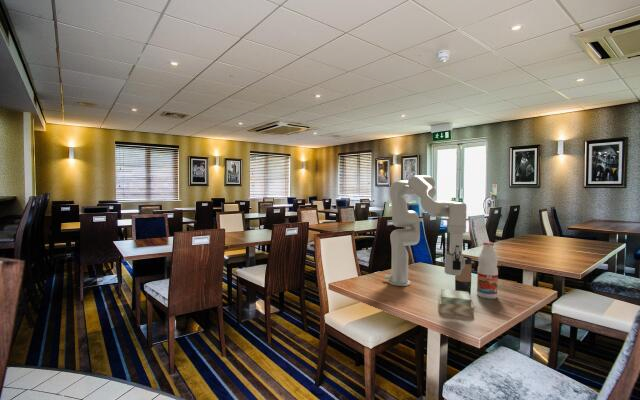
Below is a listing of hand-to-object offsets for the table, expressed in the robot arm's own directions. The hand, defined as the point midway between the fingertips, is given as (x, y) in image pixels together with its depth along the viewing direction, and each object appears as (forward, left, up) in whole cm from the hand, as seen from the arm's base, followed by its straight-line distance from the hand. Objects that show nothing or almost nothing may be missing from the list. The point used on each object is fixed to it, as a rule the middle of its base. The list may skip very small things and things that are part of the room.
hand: (455, 267), depth 150 cm
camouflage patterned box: (0, 0, -19) cm, 19 cm away
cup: (0, +1, -3) cm, 3 cm away
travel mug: (+5, +21, -20) cm, 29 cm away
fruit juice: (+17, +26, -20) cm, 37 cm away
